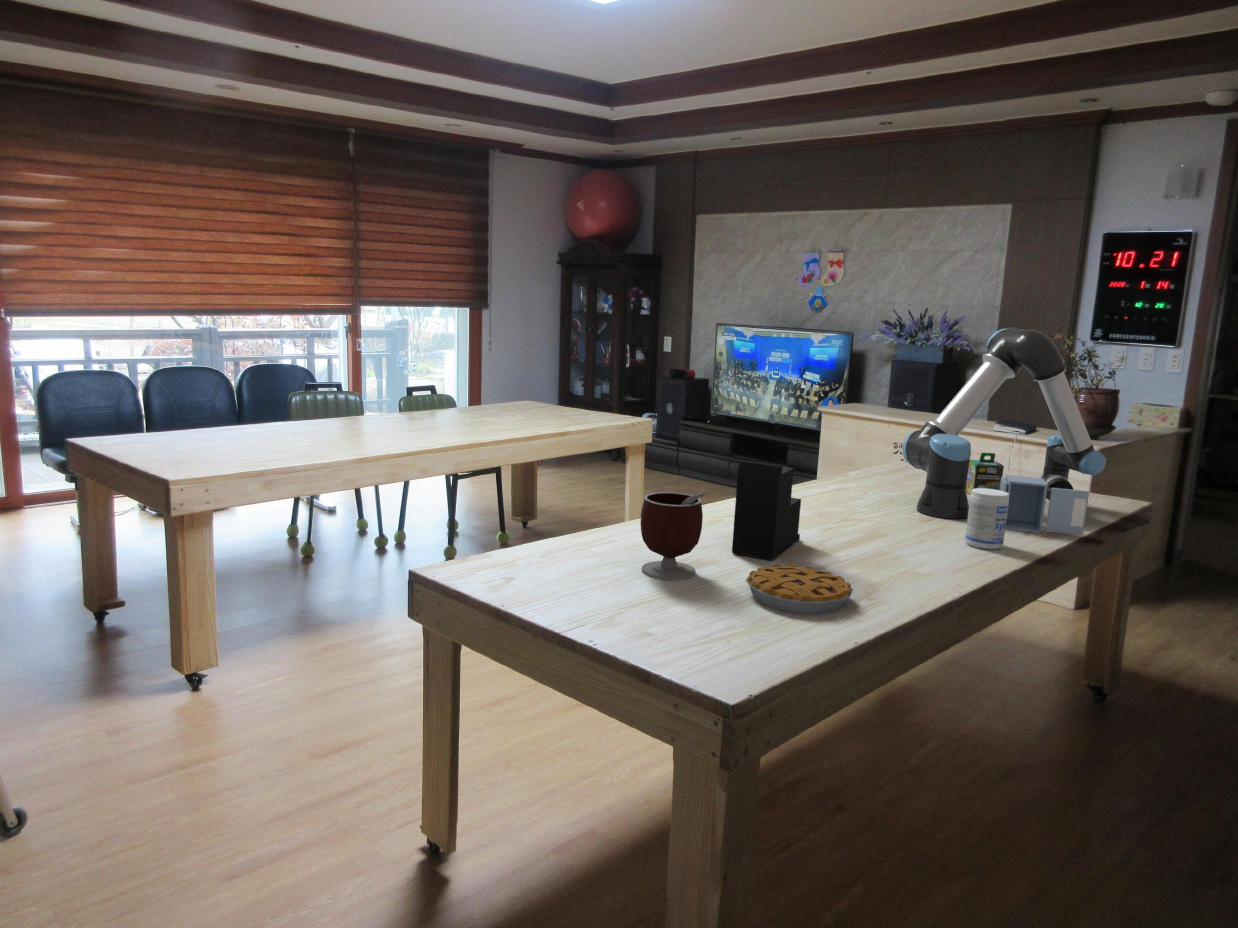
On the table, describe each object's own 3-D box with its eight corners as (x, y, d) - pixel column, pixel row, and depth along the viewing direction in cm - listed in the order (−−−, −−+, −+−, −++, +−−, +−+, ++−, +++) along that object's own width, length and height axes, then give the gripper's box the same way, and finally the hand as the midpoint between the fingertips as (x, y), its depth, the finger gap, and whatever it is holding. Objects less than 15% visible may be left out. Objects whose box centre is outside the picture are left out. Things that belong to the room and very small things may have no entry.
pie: (800, 624, 174) (802, 600, 173) (724, 591, 191) (726, 569, 190) (872, 605, 186) (874, 583, 185) (795, 576, 204) (796, 555, 203)
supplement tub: (1000, 552, 230) (1007, 497, 227) (961, 546, 235) (968, 492, 232) (1004, 544, 238) (1011, 491, 236) (967, 538, 243) (974, 485, 240)
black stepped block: (761, 533, 238) (768, 447, 234) (800, 540, 233) (808, 452, 229) (730, 554, 218) (737, 460, 213) (772, 562, 213) (780, 466, 209)
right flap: (1046, 531, 251) (1052, 488, 249) (1045, 530, 252) (1051, 487, 250) (1082, 534, 249) (1089, 491, 247) (1082, 533, 250) (1088, 491, 248)
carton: (998, 528, 255) (1005, 480, 253) (995, 520, 265) (1001, 474, 262) (1040, 532, 252) (1047, 484, 250) (1035, 524, 262) (1042, 478, 259)
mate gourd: (625, 569, 202) (629, 484, 198) (666, 558, 212) (671, 476, 208) (676, 587, 191) (681, 497, 187) (717, 575, 201) (723, 489, 197)
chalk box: (992, 493, 303) (997, 450, 300) (1000, 499, 294) (1006, 455, 291) (964, 491, 304) (969, 449, 301) (972, 497, 295) (977, 453, 292)
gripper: (1079, 502, 280) (1092, 520, 258) (1034, 498, 284) (1043, 514, 262) (1083, 479, 278) (1096, 494, 256) (1037, 475, 282) (1047, 489, 260)
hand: (1069, 504), depth 259 cm, fingers closed
